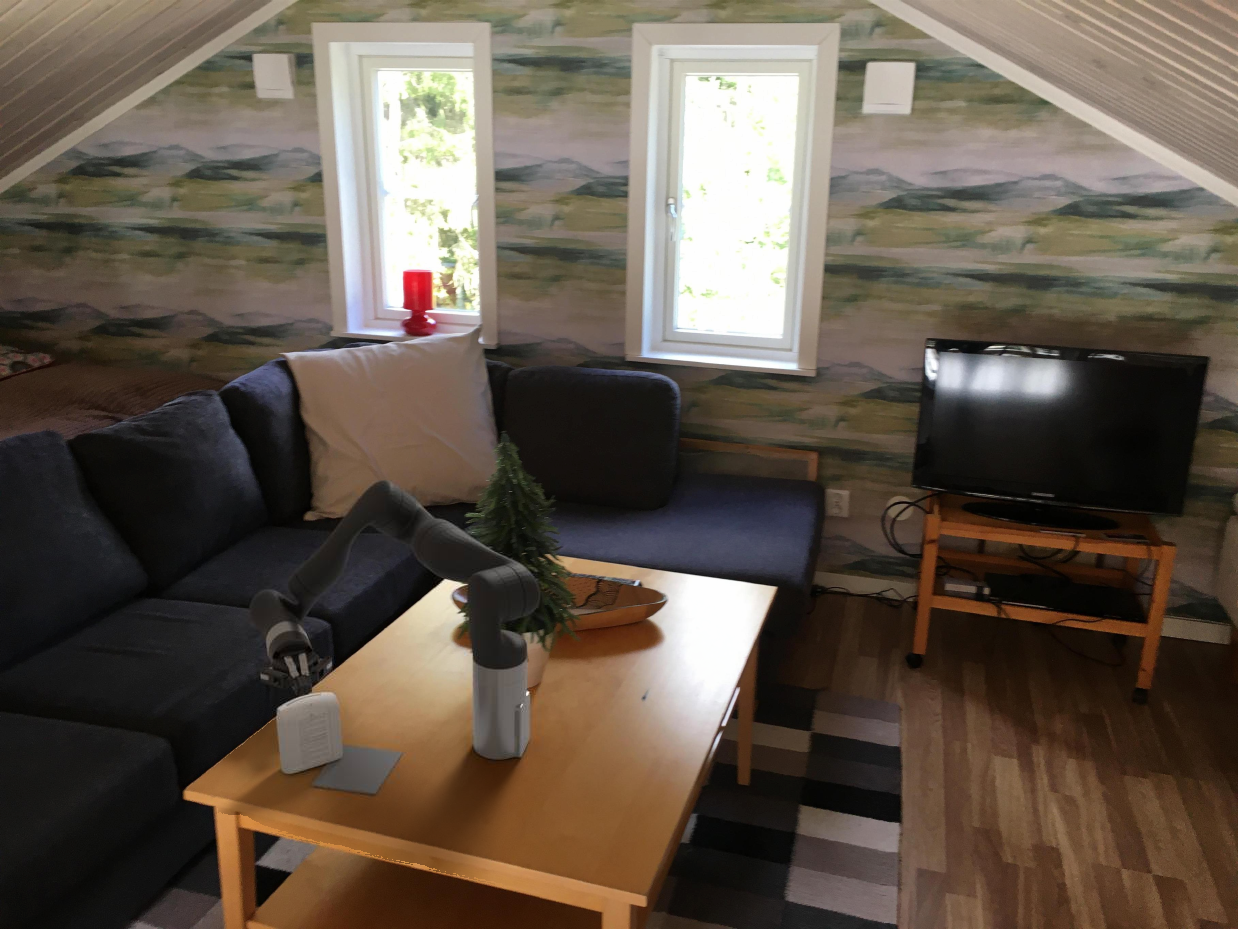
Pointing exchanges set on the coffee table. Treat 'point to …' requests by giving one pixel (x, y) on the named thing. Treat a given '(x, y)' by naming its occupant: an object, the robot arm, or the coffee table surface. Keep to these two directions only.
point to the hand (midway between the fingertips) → (304, 691)
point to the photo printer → (309, 732)
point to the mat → (358, 770)
